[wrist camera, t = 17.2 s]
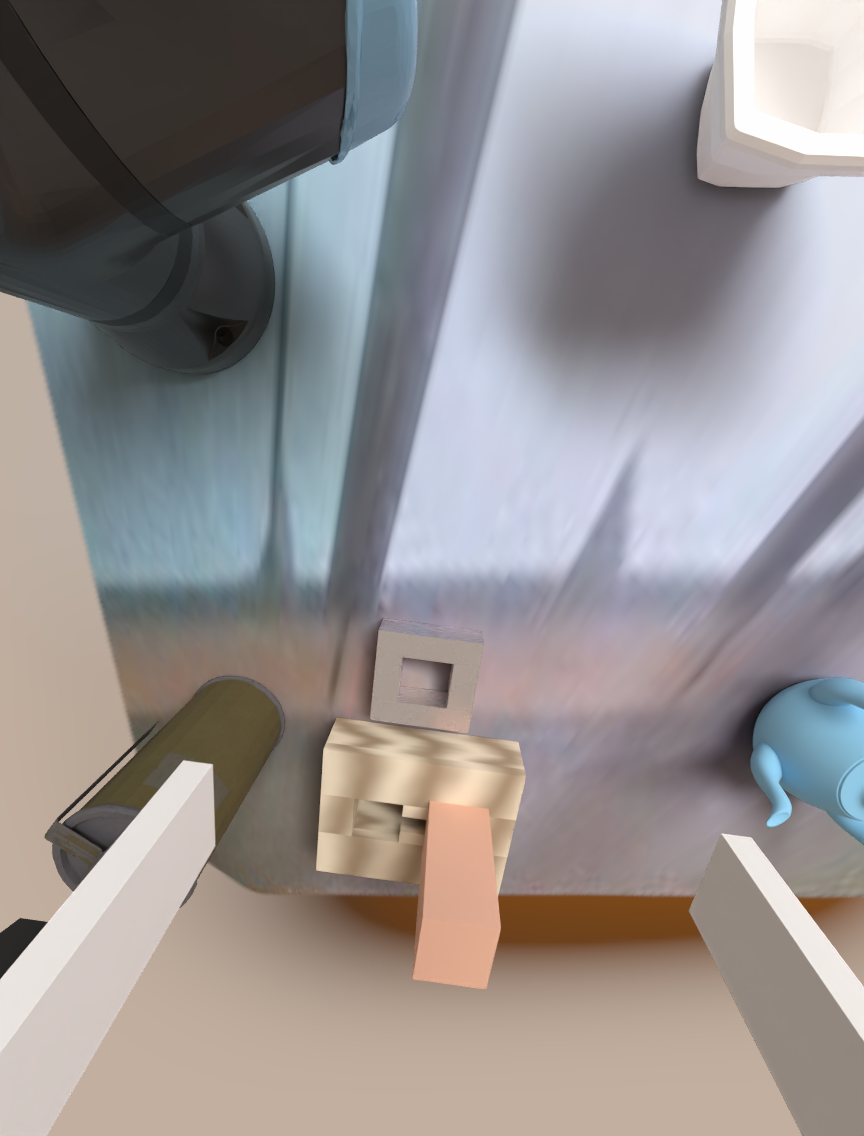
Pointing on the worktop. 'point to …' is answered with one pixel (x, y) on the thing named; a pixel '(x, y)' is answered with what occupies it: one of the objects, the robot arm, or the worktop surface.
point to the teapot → (813, 751)
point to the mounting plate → (408, 794)
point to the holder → (432, 646)
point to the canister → (196, 733)
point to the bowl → (784, 94)
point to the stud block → (456, 898)
